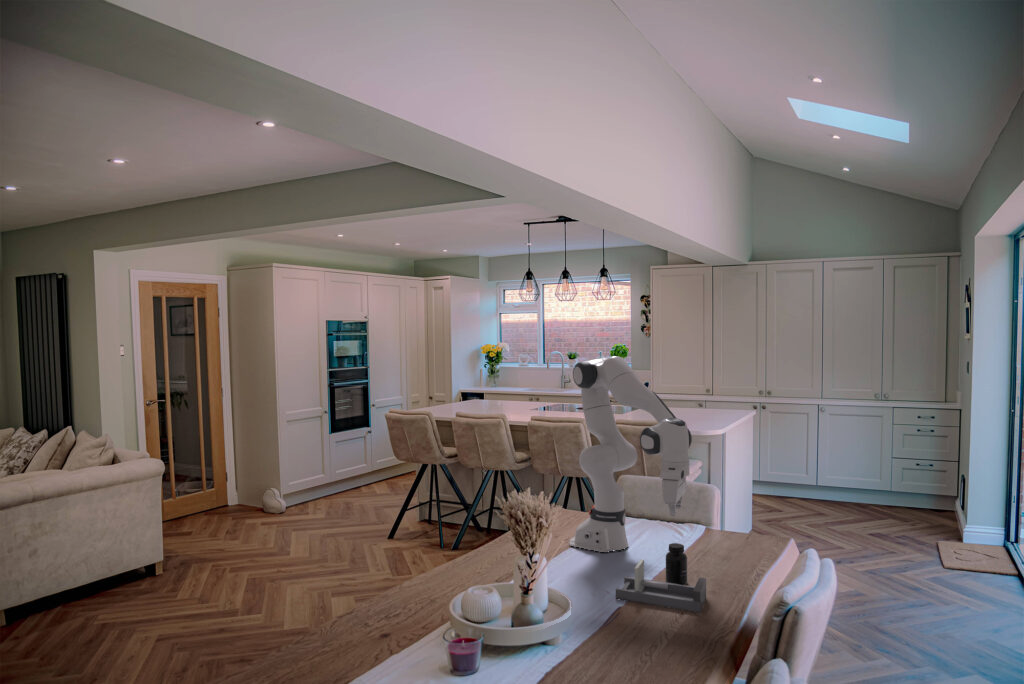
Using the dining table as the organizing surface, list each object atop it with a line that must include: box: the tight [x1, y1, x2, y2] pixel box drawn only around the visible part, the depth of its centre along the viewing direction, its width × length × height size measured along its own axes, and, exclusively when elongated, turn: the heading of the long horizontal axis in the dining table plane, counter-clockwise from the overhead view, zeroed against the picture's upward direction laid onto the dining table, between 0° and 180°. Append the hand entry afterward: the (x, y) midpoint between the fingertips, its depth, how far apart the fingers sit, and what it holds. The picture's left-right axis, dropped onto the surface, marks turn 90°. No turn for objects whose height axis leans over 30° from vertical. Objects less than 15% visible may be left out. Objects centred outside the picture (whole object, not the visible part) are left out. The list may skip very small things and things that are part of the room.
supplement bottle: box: [665, 542, 688, 585], centre depth 207 cm, size 7×7×12 cm
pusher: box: [634, 559, 668, 592], centre depth 195 cm, size 9×8×9 cm
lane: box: [615, 576, 707, 614], centre depth 194 cm, size 25×11×6 cm, turn 65°
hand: (675, 511), depth 207 cm, fingers open, 8 cm apart
